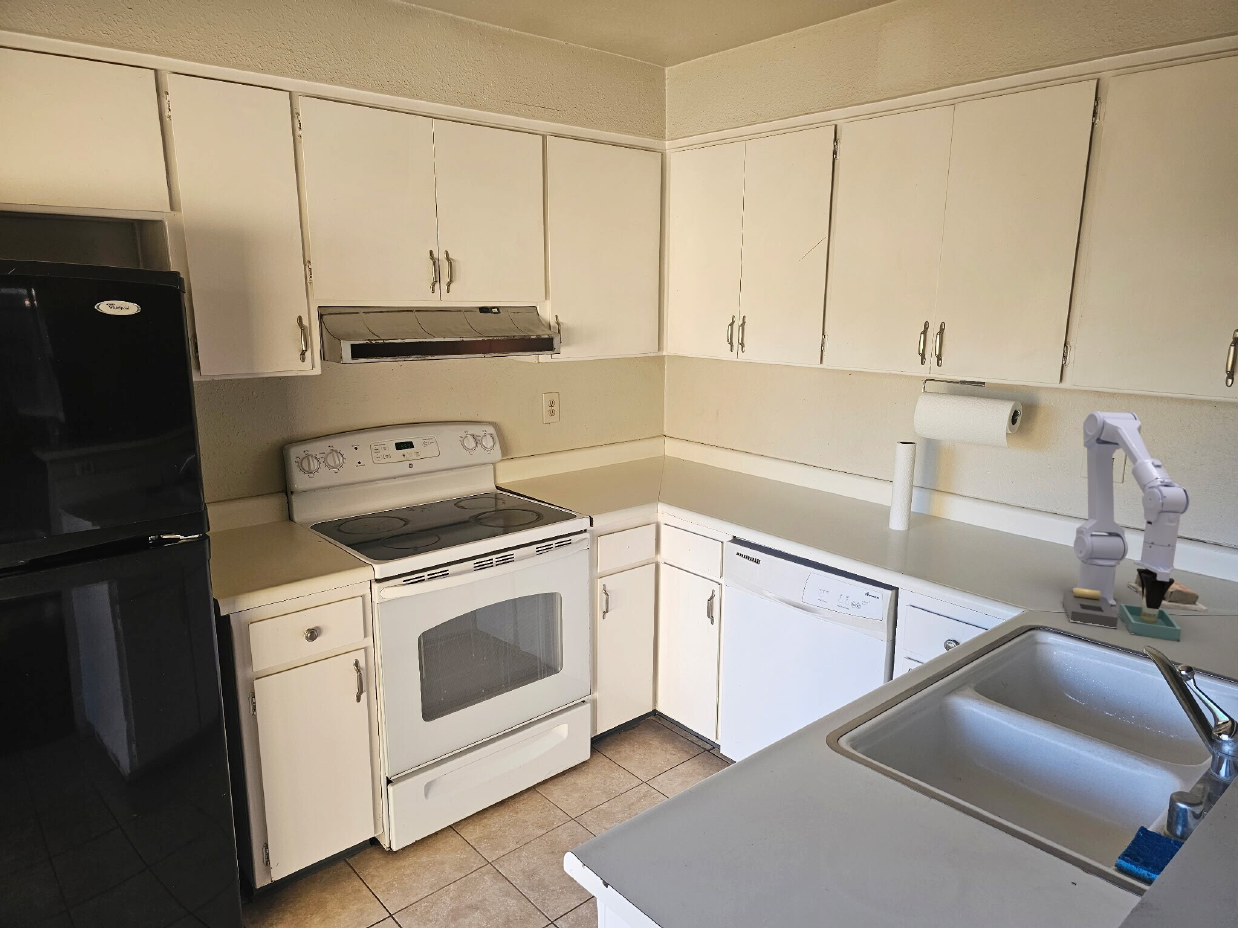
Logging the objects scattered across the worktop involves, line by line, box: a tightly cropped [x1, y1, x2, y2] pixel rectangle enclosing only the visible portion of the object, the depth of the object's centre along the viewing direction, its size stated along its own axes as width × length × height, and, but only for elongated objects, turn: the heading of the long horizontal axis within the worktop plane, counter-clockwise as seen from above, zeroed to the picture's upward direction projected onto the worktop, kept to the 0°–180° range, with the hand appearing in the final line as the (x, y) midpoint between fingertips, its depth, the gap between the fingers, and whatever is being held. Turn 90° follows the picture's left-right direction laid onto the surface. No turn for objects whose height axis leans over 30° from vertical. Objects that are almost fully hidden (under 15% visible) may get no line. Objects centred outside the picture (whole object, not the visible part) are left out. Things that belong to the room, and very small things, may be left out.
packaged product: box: [1127, 573, 1209, 613], centre depth 194 cm, size 18×5×10 cm
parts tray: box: [1118, 603, 1182, 642], centre depth 172 cm, size 14×8×2 cm, turn 157°
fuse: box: [1140, 589, 1160, 623], centre depth 171 cm, size 3×3×7 cm
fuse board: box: [1062, 587, 1119, 629], centre depth 178 cm, size 16×8×4 cm, turn 157°
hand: (1150, 605), depth 171 cm, fingers closed on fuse, 3 cm apart
